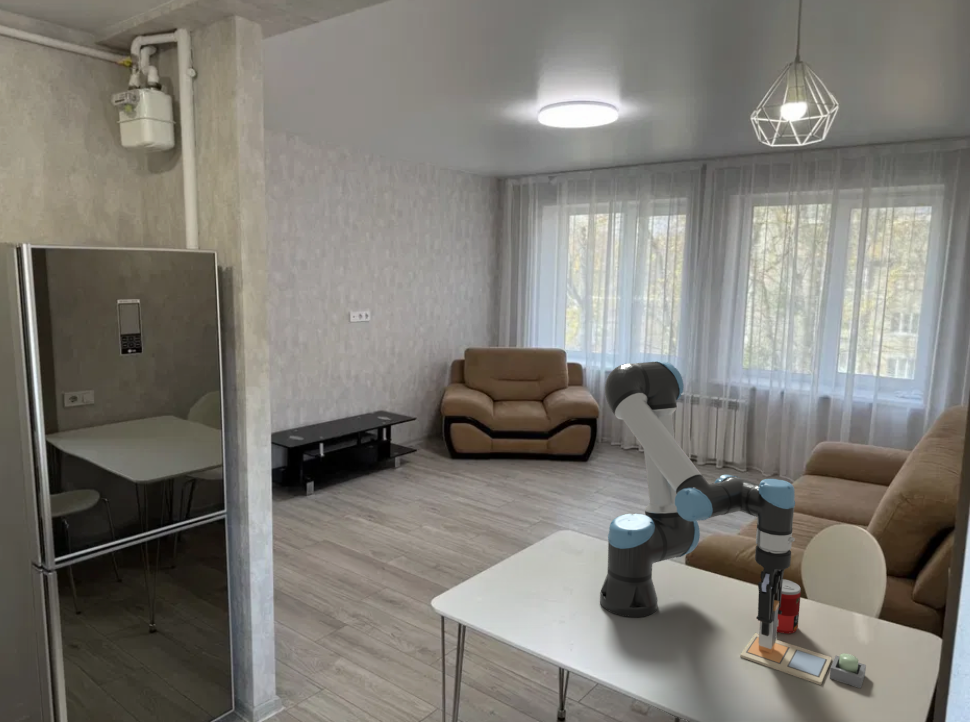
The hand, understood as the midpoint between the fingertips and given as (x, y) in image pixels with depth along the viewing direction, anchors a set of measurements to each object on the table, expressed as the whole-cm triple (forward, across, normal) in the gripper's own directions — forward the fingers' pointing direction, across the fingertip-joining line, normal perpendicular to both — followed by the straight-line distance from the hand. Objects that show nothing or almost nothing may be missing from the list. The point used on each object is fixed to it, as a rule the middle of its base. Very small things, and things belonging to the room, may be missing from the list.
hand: (767, 642), depth 154 cm
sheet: (+2, 0, -4) cm, 5 cm away
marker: (+1, 0, 0) cm, 1 cm away
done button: (+1, +1, -17) cm, 17 cm away
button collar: (+2, +1, -17) cm, 17 cm away
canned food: (+3, +14, +1) cm, 15 cm away
